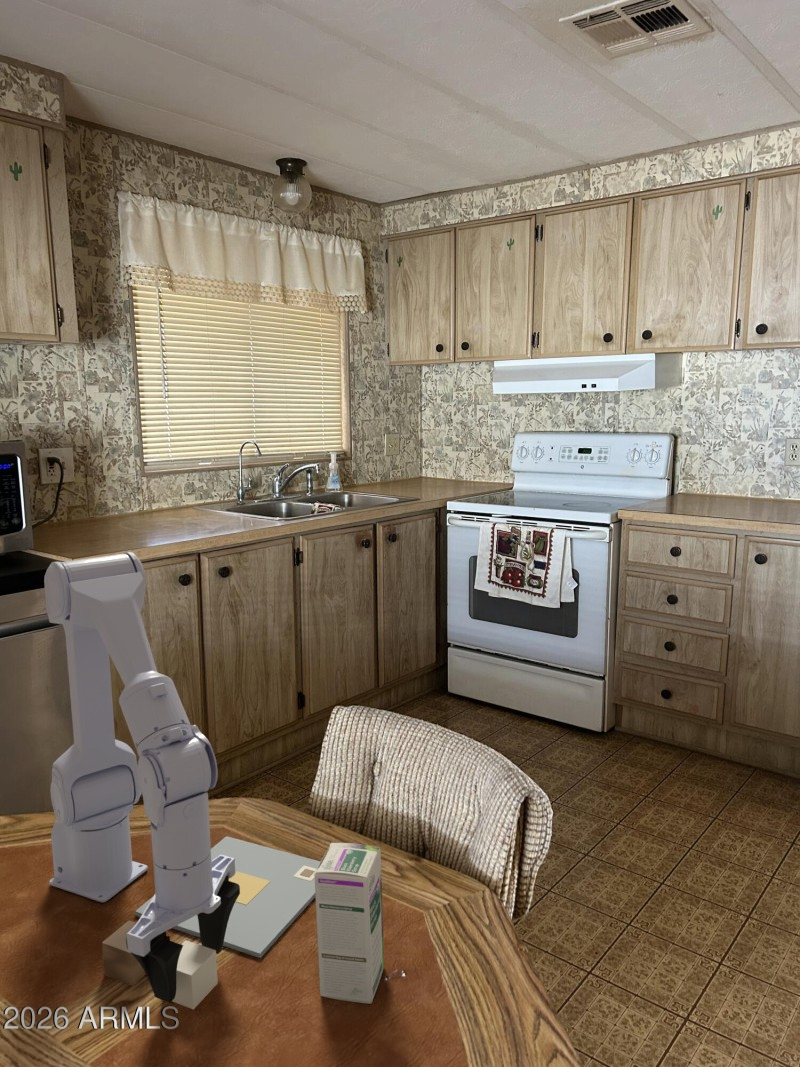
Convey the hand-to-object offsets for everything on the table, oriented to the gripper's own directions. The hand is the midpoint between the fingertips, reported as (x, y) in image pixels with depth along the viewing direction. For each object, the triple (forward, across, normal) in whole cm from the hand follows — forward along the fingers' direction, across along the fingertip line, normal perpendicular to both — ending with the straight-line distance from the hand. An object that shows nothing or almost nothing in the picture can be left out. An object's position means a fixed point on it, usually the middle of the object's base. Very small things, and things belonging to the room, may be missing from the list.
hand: (189, 972), depth 83 cm
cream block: (+2, 0, 0) cm, 2 cm away
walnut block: (+2, 0, +8) cm, 8 cm away
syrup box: (+2, +8, -15) cm, 17 cm away
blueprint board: (+2, +16, +5) cm, 17 cm away
